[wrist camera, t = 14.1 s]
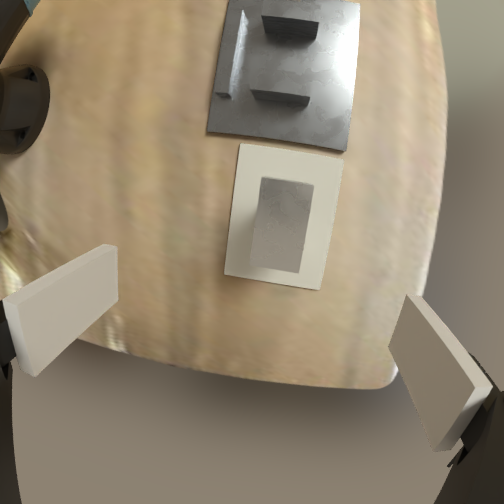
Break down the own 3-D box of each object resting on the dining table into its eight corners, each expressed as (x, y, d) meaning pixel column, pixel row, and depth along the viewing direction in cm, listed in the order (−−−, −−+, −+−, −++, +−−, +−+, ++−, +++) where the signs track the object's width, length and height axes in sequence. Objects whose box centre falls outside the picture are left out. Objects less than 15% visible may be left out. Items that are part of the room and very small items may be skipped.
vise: (209, 132, 35) (194, 126, 29) (237, -26, 29) (229, -49, 23) (344, 151, 34) (355, 149, 28) (359, -11, 27) (368, -34, 22)
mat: (224, 272, 40) (223, 274, 39) (241, 143, 35) (240, 143, 35) (319, 288, 39) (319, 290, 38) (343, 159, 34) (344, 159, 34)
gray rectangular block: (262, 232, 37) (248, 265, 25) (270, 173, 35) (261, 177, 23) (296, 237, 37) (298, 273, 25) (305, 178, 35) (314, 185, 23)
